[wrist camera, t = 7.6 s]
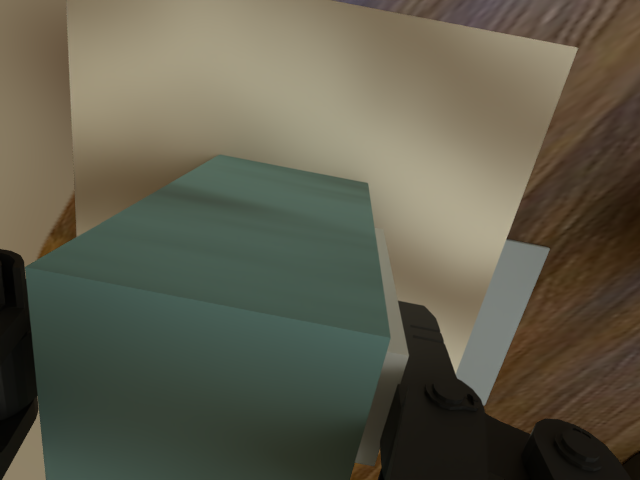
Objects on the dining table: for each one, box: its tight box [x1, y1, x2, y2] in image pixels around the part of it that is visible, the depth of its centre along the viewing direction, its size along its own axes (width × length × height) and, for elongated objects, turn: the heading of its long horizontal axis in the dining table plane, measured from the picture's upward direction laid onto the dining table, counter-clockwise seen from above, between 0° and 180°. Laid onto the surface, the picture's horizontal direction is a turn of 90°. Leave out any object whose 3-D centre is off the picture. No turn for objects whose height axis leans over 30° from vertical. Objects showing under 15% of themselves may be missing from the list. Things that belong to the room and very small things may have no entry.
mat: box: [456, 239, 550, 405], centre depth 40 cm, size 18×18×1 cm
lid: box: [25, 0, 578, 480], centre depth 11 cm, size 15×15×10 cm
